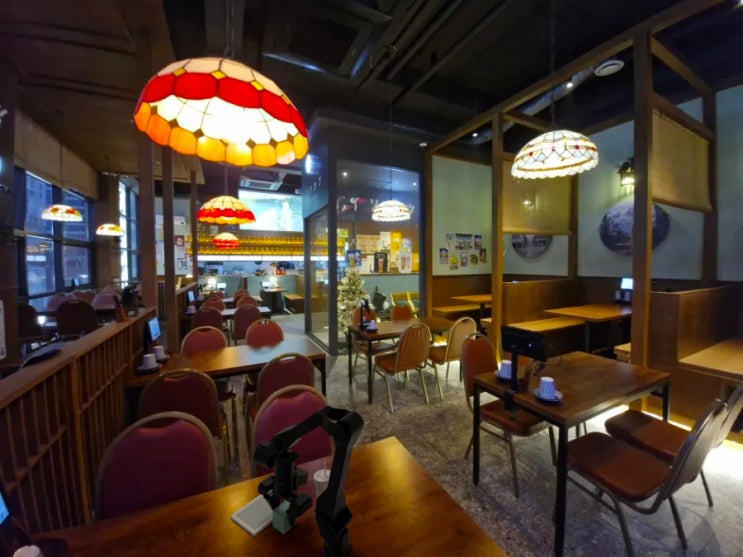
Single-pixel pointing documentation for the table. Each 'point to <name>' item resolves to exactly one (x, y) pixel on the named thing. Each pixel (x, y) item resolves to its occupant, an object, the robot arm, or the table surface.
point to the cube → (281, 518)
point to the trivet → (254, 516)
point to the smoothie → (321, 480)
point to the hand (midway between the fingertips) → (284, 521)
